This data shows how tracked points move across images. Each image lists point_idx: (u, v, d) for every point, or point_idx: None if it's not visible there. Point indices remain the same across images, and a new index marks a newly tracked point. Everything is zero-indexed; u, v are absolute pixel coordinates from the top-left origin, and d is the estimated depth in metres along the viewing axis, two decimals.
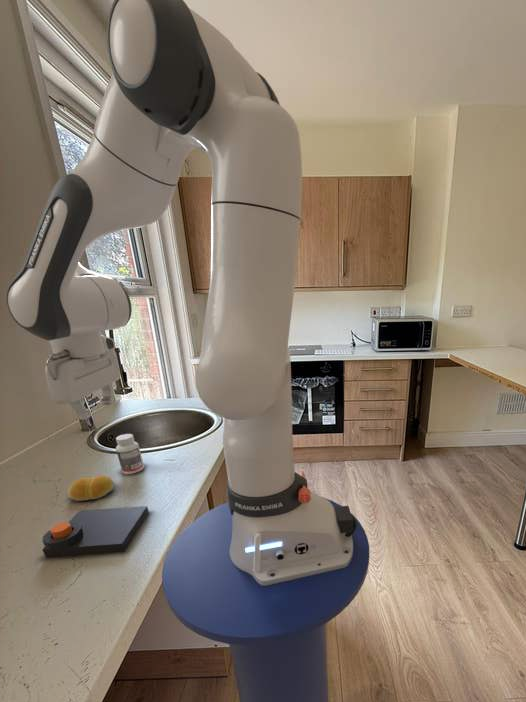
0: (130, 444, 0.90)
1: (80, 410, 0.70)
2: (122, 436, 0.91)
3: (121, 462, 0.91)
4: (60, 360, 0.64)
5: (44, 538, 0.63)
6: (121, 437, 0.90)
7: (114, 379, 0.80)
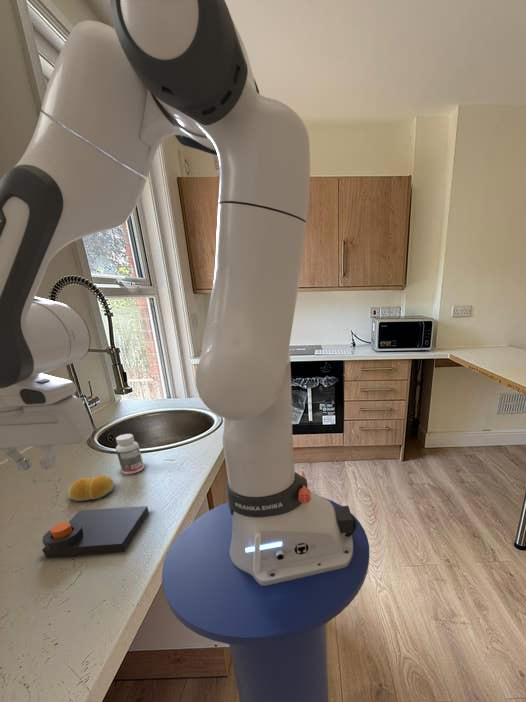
0: (130, 444, 0.90)
1: None
2: (122, 436, 0.91)
3: (121, 462, 0.91)
4: None
5: (44, 538, 0.63)
6: (121, 437, 0.90)
7: (62, 442, 0.56)
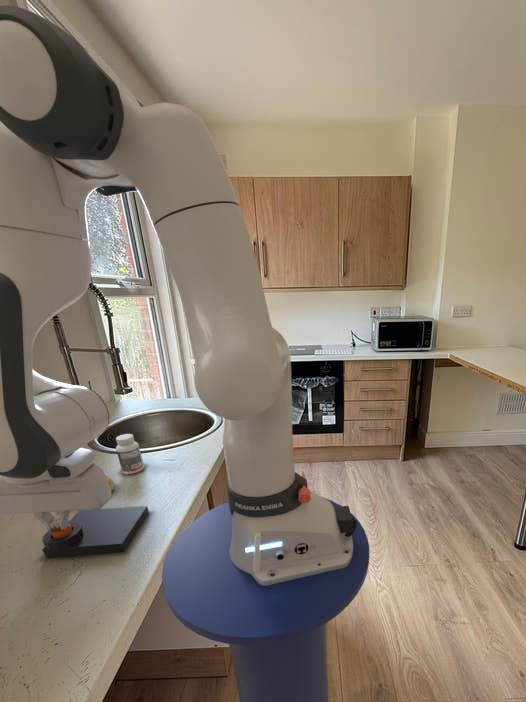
0: (130, 444, 0.90)
1: None
2: (122, 436, 0.91)
3: (121, 462, 0.91)
4: None
5: (44, 538, 0.63)
6: (121, 437, 0.90)
7: (83, 507, 0.61)
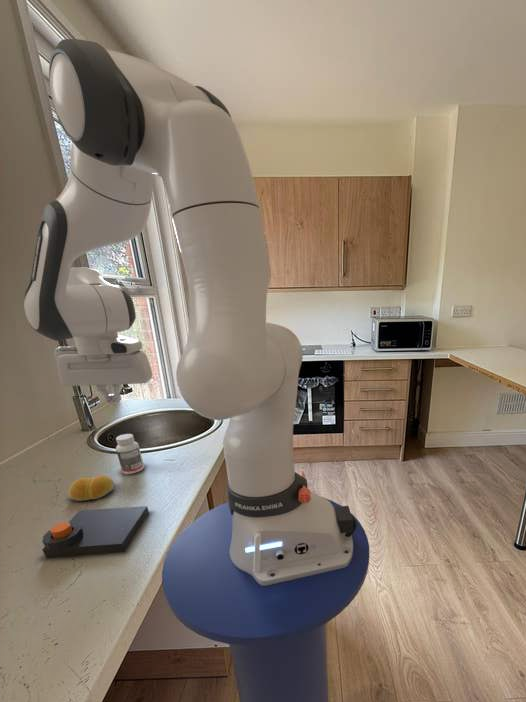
0: (131, 444, 0.90)
1: None
2: (122, 436, 0.91)
3: (121, 462, 0.91)
4: (66, 352, 0.81)
5: (44, 538, 0.63)
6: (121, 437, 0.90)
7: (133, 381, 0.83)
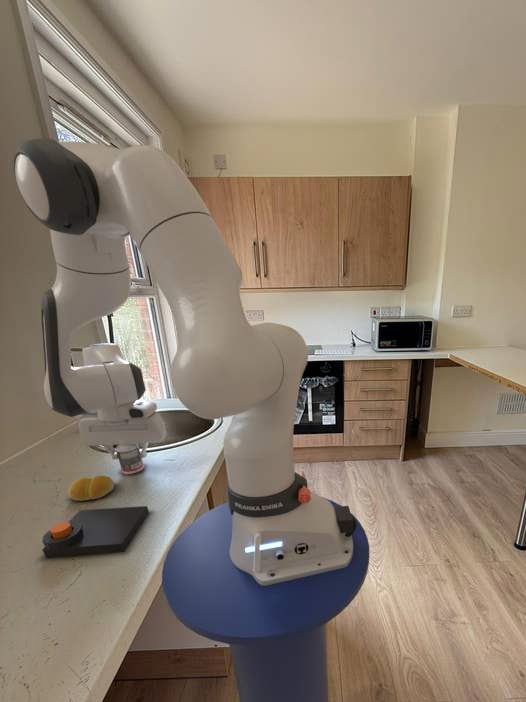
0: (130, 444, 0.90)
1: None
2: None
3: (121, 462, 0.91)
4: (87, 416, 0.87)
5: (44, 538, 0.63)
6: None
7: (149, 441, 0.89)
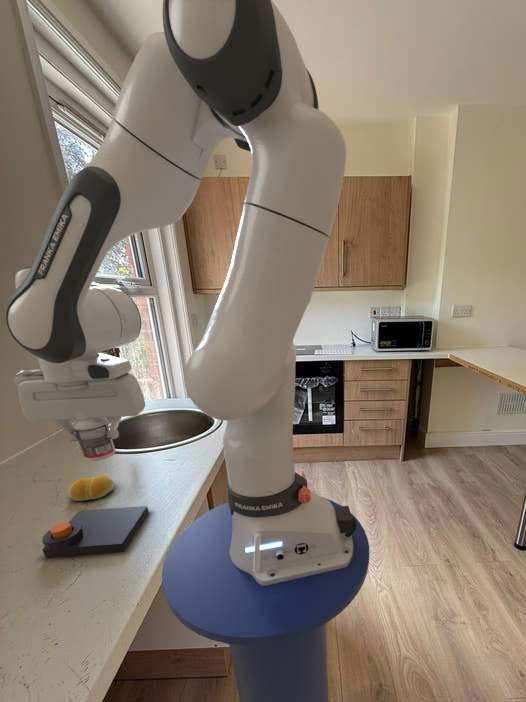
0: (94, 419, 0.64)
1: None
2: None
3: (81, 444, 0.64)
4: (31, 377, 0.61)
5: (44, 538, 0.63)
6: None
7: (120, 414, 0.63)
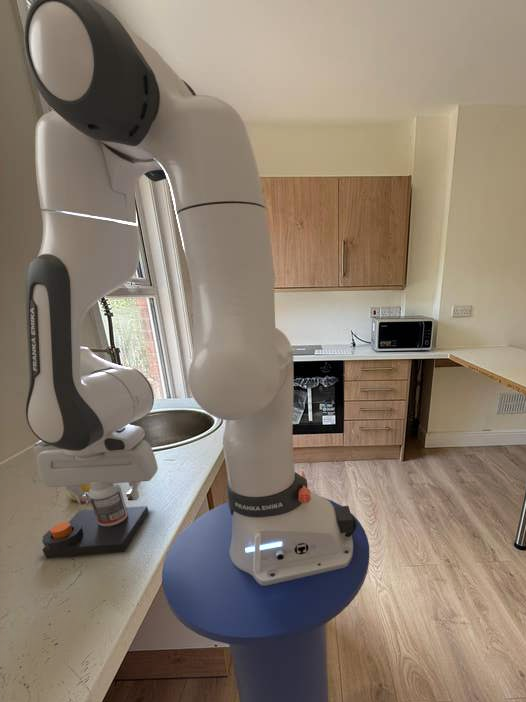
0: (109, 488, 0.67)
1: None
2: None
3: (96, 511, 0.67)
4: (49, 447, 0.64)
5: (44, 538, 0.63)
6: None
7: (134, 480, 0.66)
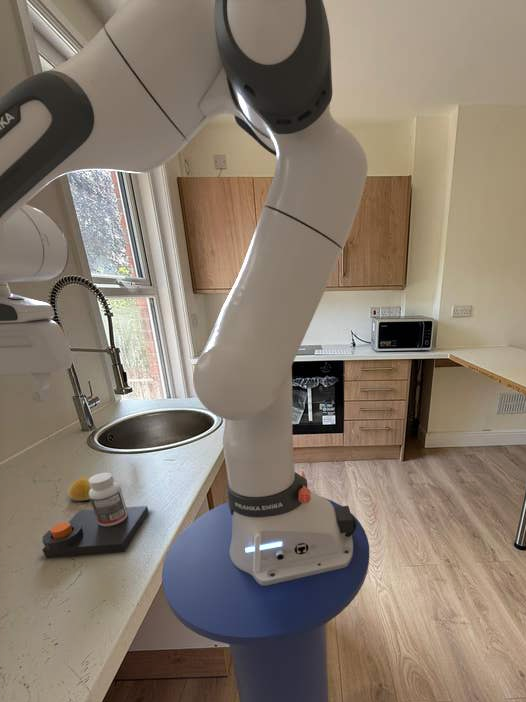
0: (109, 488, 0.67)
1: None
2: (97, 476, 0.67)
3: (96, 512, 0.67)
4: None
5: (44, 538, 0.63)
6: (96, 479, 0.66)
7: (37, 369, 0.51)
